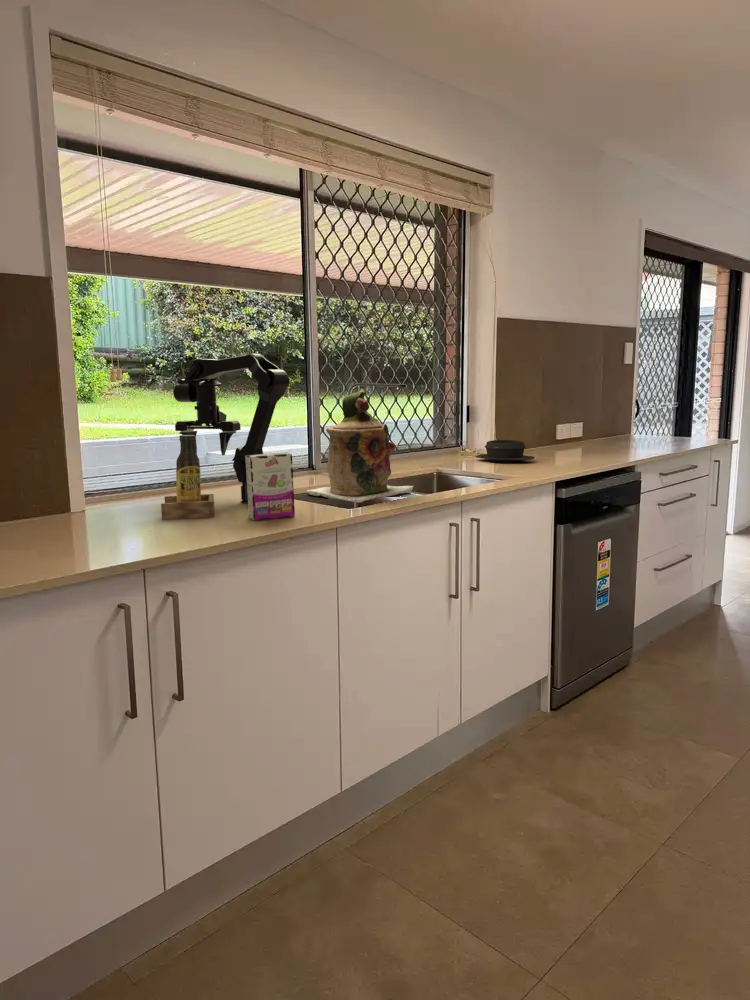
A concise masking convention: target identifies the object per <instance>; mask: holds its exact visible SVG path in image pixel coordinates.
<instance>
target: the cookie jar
mask: <svg viewBox="0 0 750 1000" xmlns="http://www.w3.org/2000/svg"><path fill="white" fill-rule="evenodd" d="M359 389H360V390H359V391H358V392H353V393H350V394H348V395H346V396H345V397H343V399H342V403H341V406H342V407H341V410H342V413H343V420H342V421H340V422H338V423H337V424H335V425H330V426H328V427H326V429H325V431H326V433H327V434H328V435H329V441H328V442H329V445H328V447H327V448H328V449H327V450H328V453H327V454H328V455H327V460H328V461H327V465H326V467H327V474H328V479H329V483H330V486H324V487H323V486H322V487H318V488H313V489H307V490H306V493H307V494H308V496H310V495H311V496H315V497H319V496H320V497H324V498H325V499H326V498H328V499H333V500H339V501H340V500H341V501H347V502H353V503H359V504H361V503H364V502H365V501H371V500H374V499H377V498H388V497H391V496H392V497H393V496H397V495H401V494H406V493H407V494H408V493H411V492H412V491H413V488H414V485H402V486H395V485H394V486H393V485H388V479H389V477H390V476H391V475H392V468H391V461H390V458H391V456H392V455H393V453H394V451H395V450H396V448H397V447H396V444H395V443H394V442H391V441H390V438H389V434H390V433H389V432H390V431H389V427H388V425H387V424H386V423H383V424H382V423H381V422H380V421H379V419H377V418H376V417H374V416H373V415H372V414H371V413H370V412H369V409H370V405H369V402H368V400H367V399H365V394H366V392H365V389H364V388H359Z"/></svg>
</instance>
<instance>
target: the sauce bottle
mask: <svg viewBox="0 0 750 1000" xmlns="http://www.w3.org/2000/svg"><path fill="white" fill-rule="evenodd" d="M178 441H179V442H180V444H179V445H180V453H179V455H178V456H177V459H176V464H175V465H176V470H175V476H176V477H175V478H176V479H175V480H176V481H175V483H176V484H175V485H176V487H175V488H176V496H177V503H178V502H199V501H201V494H202V491H201V488H202V487H201V483H202V481H201V463H200V458H199V456H198V454H196V453H195V435H182V434H179V440H178Z"/></svg>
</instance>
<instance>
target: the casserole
mask: <svg viewBox="0 0 750 1000" xmlns="http://www.w3.org/2000/svg"><path fill="white" fill-rule="evenodd" d="M526 447H527V446H526V445H525V442H524V441H522V440H517V439H516V440H515V439H496V440H495V439H494V440H487V441H486V444H485V445H484V448H485V449H486V453H483V454H477V455H476V456H475V457H476V459H477V458H478V459H485V460H488V461H490V462H492V463H501V464H503V463H505V464H506V463H507V464H508V463H509V464H511V463H512V464H513V463H518V462H521V461H528V460H534V459H535V458H536V457H535V456H532V455H524V453H525V449H526Z"/></svg>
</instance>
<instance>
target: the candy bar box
mask: <svg viewBox="0 0 750 1000" xmlns="http://www.w3.org/2000/svg"><path fill="white" fill-rule="evenodd" d="M245 460H246V475H247V493H248V503H247V508H248V518H249V519H250V520H252V521H254V522H257V521H258V522H259V521H267V520H268V521H269V520H277V519H283V518H284V519H285V518H291V517H292V518H294V517H295V516H296V515H295V514H296V513H295V512H296V511H295V508H296V507H295V492H294V491H295V488H294V469H293V454H292V453H290V452H288V451H287V452H272V453H271V452H270V453H263V454H258V455H246V456H245Z"/></svg>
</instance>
